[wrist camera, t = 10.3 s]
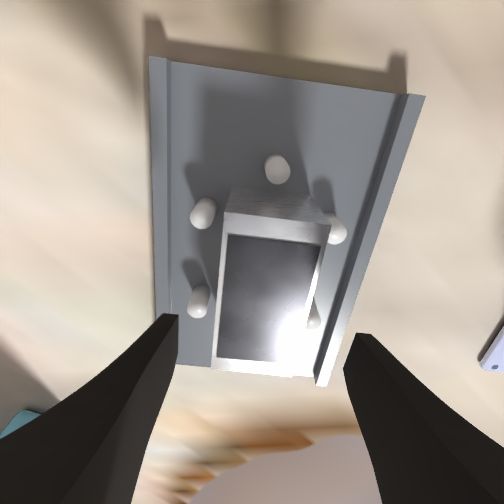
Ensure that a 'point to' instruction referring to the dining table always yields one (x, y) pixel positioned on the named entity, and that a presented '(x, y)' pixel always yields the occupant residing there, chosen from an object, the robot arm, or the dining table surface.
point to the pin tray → (268, 186)
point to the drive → (266, 278)
